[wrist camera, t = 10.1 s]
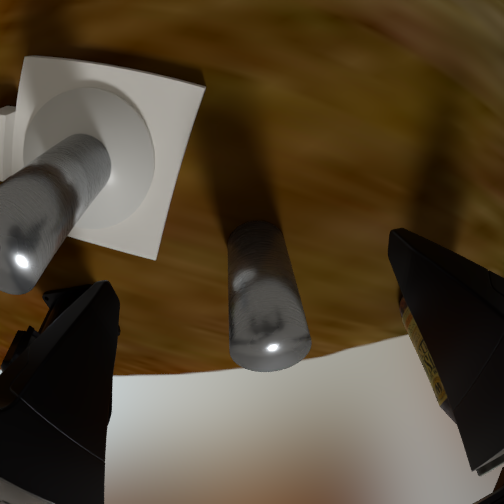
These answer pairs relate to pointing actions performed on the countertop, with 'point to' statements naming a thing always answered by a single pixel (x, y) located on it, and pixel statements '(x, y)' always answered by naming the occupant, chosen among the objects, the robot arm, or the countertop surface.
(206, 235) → the countertop surface
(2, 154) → the scale
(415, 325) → the sauce bottle
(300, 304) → the cylinder
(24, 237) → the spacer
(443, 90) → the countertop surface
